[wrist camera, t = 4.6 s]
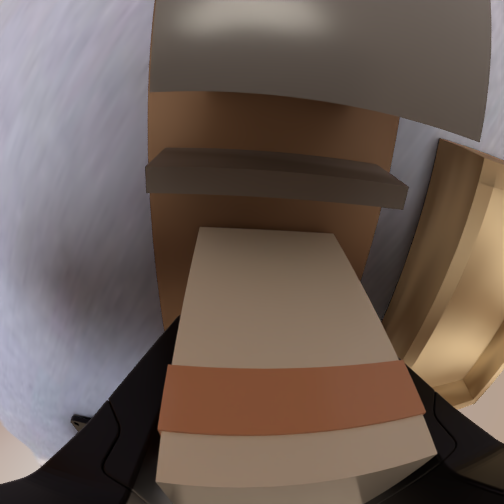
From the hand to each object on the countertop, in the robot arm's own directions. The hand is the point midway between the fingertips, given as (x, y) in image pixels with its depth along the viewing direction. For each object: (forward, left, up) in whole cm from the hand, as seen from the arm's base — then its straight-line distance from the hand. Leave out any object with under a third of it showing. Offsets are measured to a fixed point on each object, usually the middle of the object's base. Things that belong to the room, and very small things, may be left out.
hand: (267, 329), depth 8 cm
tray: (-2, -11, -3) cm, 12 cm away
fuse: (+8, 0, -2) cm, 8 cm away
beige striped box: (0, 0, -2) cm, 2 cm away
